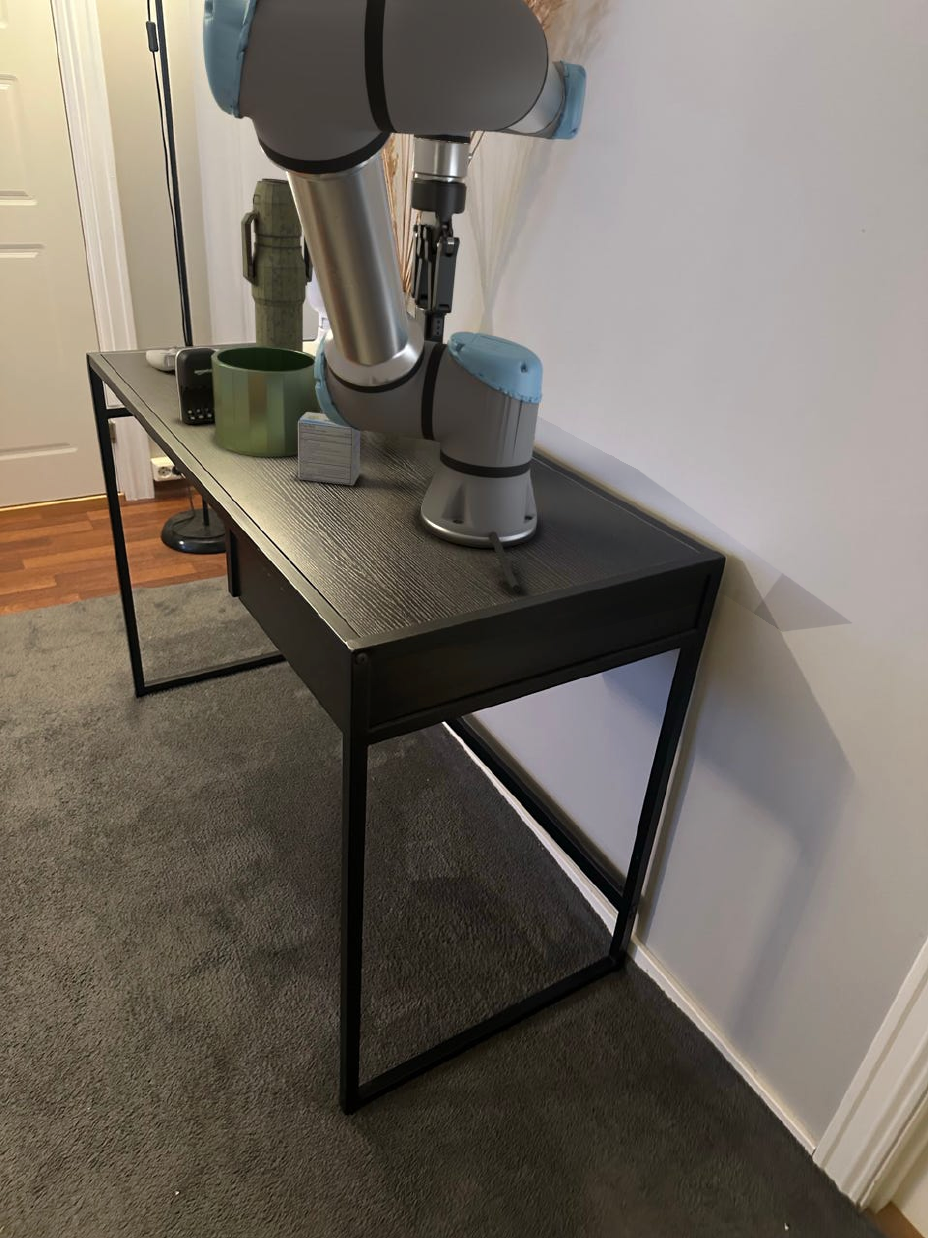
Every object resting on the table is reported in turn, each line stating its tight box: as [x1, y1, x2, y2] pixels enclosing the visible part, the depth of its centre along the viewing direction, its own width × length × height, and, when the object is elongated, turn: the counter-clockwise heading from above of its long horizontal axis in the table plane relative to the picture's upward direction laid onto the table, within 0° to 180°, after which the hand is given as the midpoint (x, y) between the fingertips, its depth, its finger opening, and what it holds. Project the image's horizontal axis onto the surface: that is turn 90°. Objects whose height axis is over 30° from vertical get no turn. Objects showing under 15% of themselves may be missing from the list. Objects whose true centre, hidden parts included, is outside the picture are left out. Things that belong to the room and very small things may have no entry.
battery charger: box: [174, 346, 216, 425], centre depth 131 cm, size 7×4×11 cm, turn 131°
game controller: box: [145, 345, 221, 372], centre depth 159 cm, size 14×4×10 cm
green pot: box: [211, 345, 321, 458], centre depth 127 cm, size 16×16×12 cm
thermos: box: [240, 178, 314, 352], centre depth 139 cm, size 9×12×35 cm
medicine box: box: [297, 412, 361, 487], centre depth 116 cm, size 8×4×9 cm, turn 84°
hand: (426, 356), depth 122 cm, fingers closed on bin lid, 4 cm apart
